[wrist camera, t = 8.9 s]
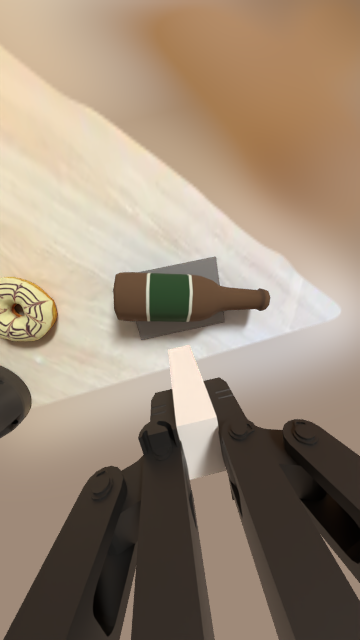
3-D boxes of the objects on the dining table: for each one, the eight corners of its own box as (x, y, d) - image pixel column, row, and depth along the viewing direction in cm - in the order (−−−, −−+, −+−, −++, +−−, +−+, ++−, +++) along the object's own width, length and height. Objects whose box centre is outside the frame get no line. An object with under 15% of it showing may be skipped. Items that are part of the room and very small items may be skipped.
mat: (141, 338, 37) (141, 339, 37) (124, 275, 34) (123, 275, 33) (223, 321, 38) (224, 322, 37) (215, 256, 34) (215, 256, 34)
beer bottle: (113, 261, 27) (278, 268, 30) (124, 279, 35) (253, 283, 37) (111, 317, 26) (280, 320, 29) (122, 323, 34) (255, 324, 37)
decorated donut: (51, 344, 36) (39, 353, 33) (-13, 323, 34) (-34, 331, 31) (66, 292, 34) (55, 296, 30) (-2, 266, 32) (-23, 267, 28)
